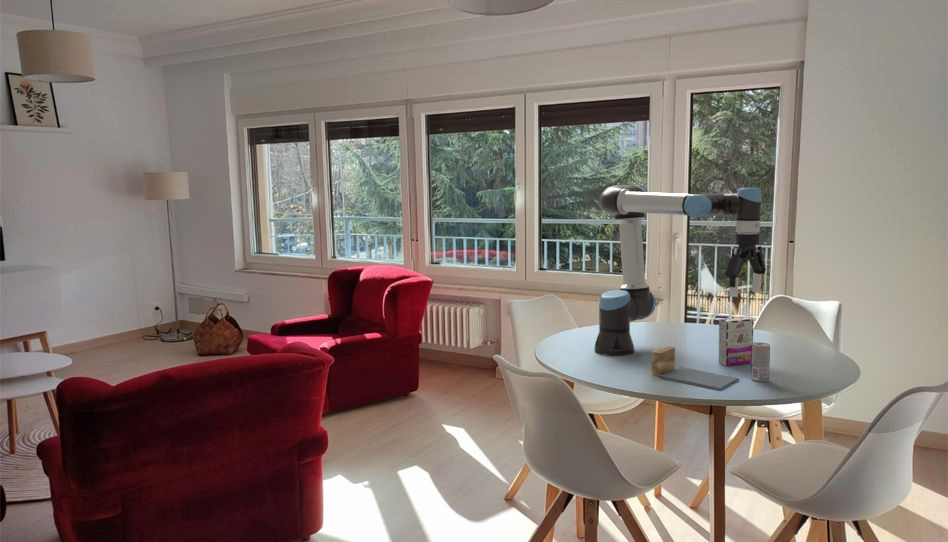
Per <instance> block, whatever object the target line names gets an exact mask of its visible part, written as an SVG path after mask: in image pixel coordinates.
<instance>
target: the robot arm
mask: <svg viewBox="0 0 948 542" xmlns="http://www.w3.org/2000/svg"><path fill="white" fill-rule="evenodd" d="M762 202H763V200H762V190H761V188H760V187H739V188H738V189H737V192H736V193H719V192H718V193H716V192H714V193H713V192H712V193H704V194H703V193H680V192H679V193H678V192H677V193H675V192H673V193H672V192H649V191H647V190H646V189H644V188H643V186H639V185H634V184H629V185H628V184H626V185H624V184H623V185H616V184H615V185H611V186H608V187H606V188H605V189H604V190H603V191H602V192H601V195H600V198H599V205H600V207H601V209H602V210H603V212H605V213H606V214H608V215H609V216H610V215H611V216H614V220H615V222H617V223H618V225H619V240H620V254H621V256H620V258H621V269H622V284H621V285H620V286H619V289H614V290H608V291H605V292H603V293H602V294H600V296H599V300H598V301H599V302H598V308H599V309H598V310H599V311H598V315H599V316H598V318H599V319H598V321H599V323H598V326H599V327H598V329H599V331H598V334H597V338H596V339H595V344H594V352H595V353H597V354H600V355H603V356H604V355H605V356H612V357H616V356H617V357H620V356H621V357H622V356H623V357H624V356H630V355H632V354H634V353H635V344H634V341H633V338H632V336H631V331H630V330H631V329H630V327H631V323H632V322H635V321H641V320H644V319H646V318H648V317H650V316H651V315H652V314H653V313H654V311H655V309H656V306H657V300H656V297H655V295H654V294H653V292H652V291H651V290H650V285H649V284H648V283H647V282H646V277H645V263H644V262H645V261H644V260H645V259H644V245H643V229H642V228H643V227H642V222H643V221H644V220H645V218H646V215H645V214H656V215H657V214H658V215H673V216H674V215H675V216H676V215H677V216H687V217H688V216H689V217H693V218H702V217H707V216H708V217H714V216H736V224H735V232H736V234H735V242H734V243H735V244H736V245H737V246H738V248H735V247H732V249H731V256H730V258H729V262H728V265H727V268H726V271H725V276H726V278H729V289H728V290H729V292H728V293H729V294H728V296H729V297H733V298H738V297H739V277H738V276H739V274H740V271H741V269H742V268H743V266H744V264H745V262H748V261H749V264H750V265H751V268H752V270H753V273H752V288H751V292H752V293H758V294H760V293H761V287H762V286H761V285H762V275H764V274H766V270H767V269H766V264H765V261H764V260H765V259H764V256H763V251H762V247H763V246H761V245H760V229H761V213H762V212H761V211H762Z"/></svg>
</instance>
